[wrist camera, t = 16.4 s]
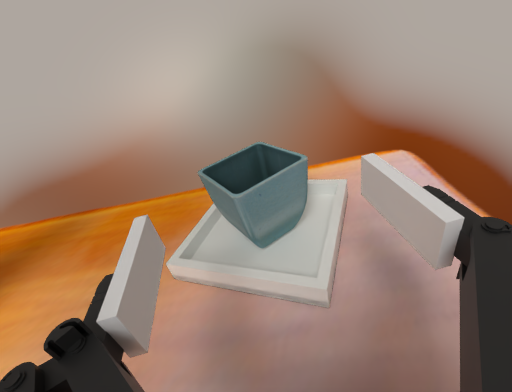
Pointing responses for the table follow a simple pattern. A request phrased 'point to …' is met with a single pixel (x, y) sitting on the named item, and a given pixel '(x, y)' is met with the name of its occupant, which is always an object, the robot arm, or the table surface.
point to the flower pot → (259, 190)
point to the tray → (270, 252)
